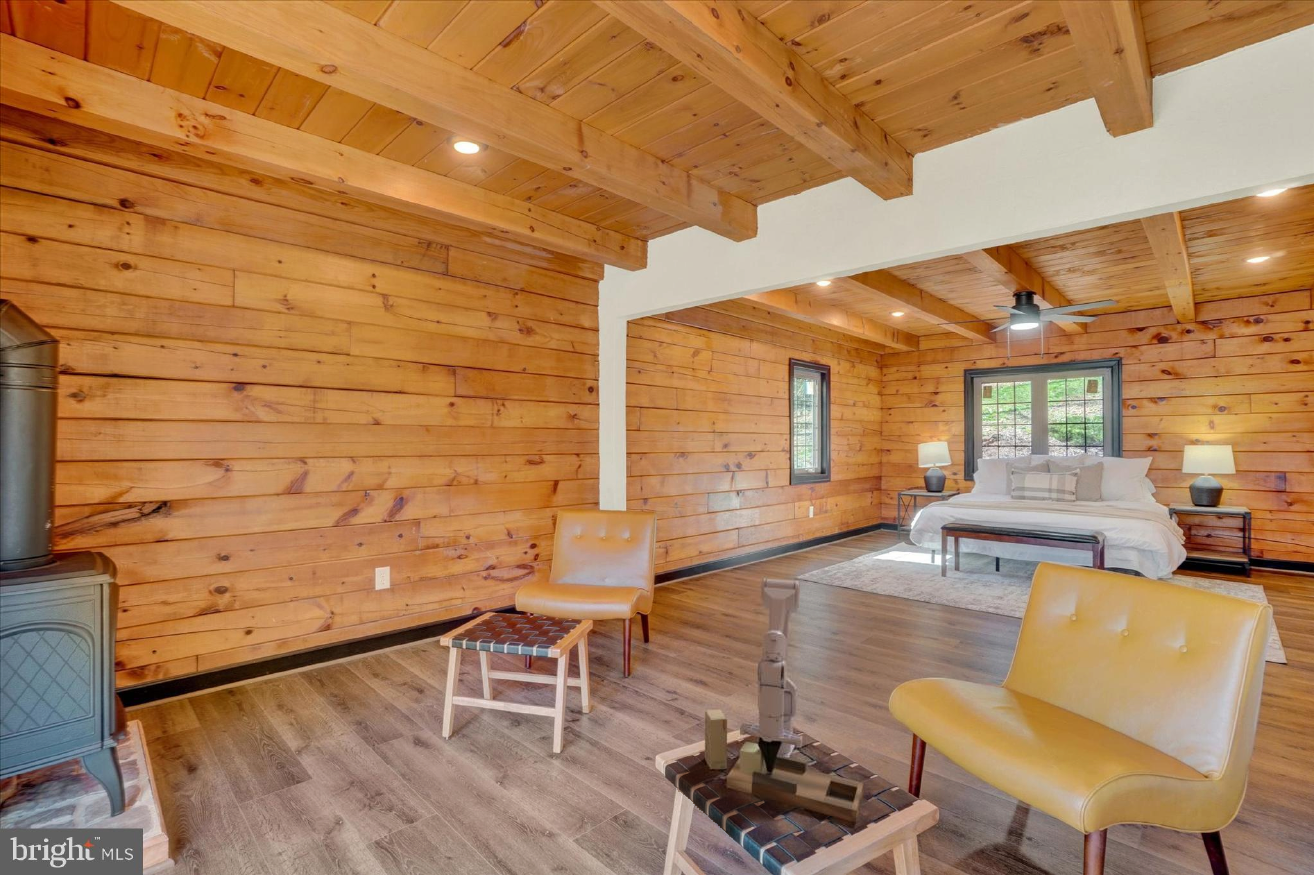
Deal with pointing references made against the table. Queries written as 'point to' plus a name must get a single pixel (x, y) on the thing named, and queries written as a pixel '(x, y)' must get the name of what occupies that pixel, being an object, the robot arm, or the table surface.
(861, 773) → the table surface
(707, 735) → the skincare box
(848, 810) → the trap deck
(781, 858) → the table surface
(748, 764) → the sage block
